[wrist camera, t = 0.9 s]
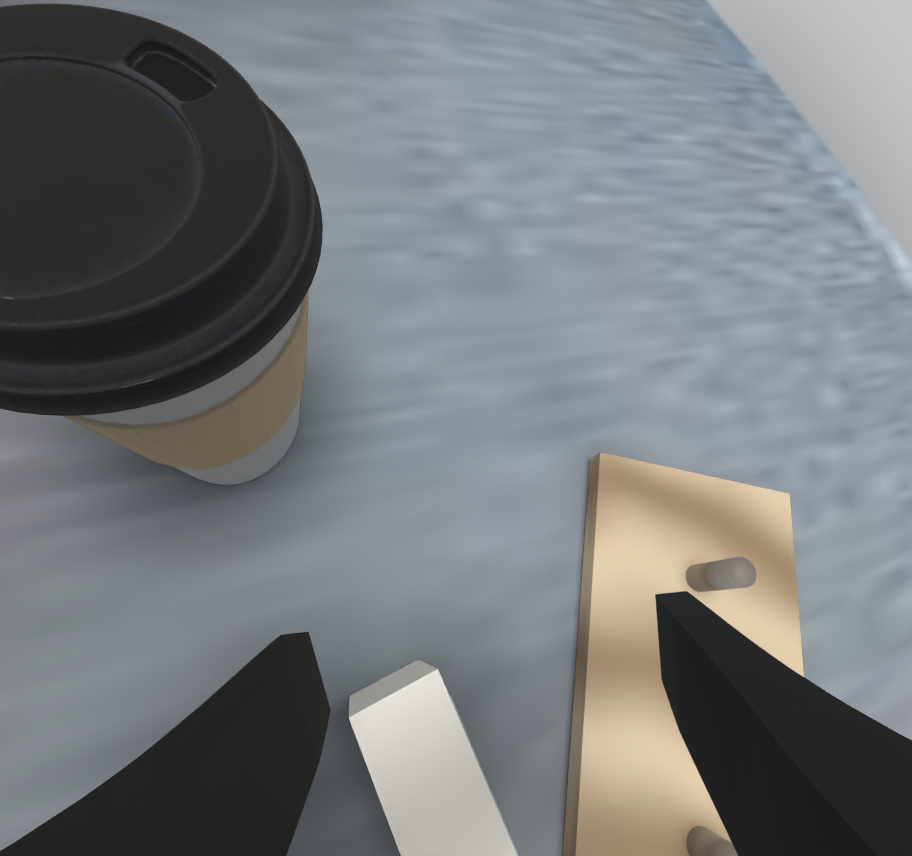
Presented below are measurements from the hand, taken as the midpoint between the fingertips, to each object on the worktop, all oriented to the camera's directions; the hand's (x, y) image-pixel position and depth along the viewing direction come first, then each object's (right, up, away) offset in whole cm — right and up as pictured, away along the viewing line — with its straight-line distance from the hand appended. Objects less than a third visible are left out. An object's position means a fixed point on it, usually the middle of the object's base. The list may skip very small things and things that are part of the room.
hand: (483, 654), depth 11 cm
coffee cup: (-11, +5, +13) cm, 18 cm away
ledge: (+9, -7, +12) cm, 17 cm away
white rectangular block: (-2, -8, +10) cm, 13 cm away
